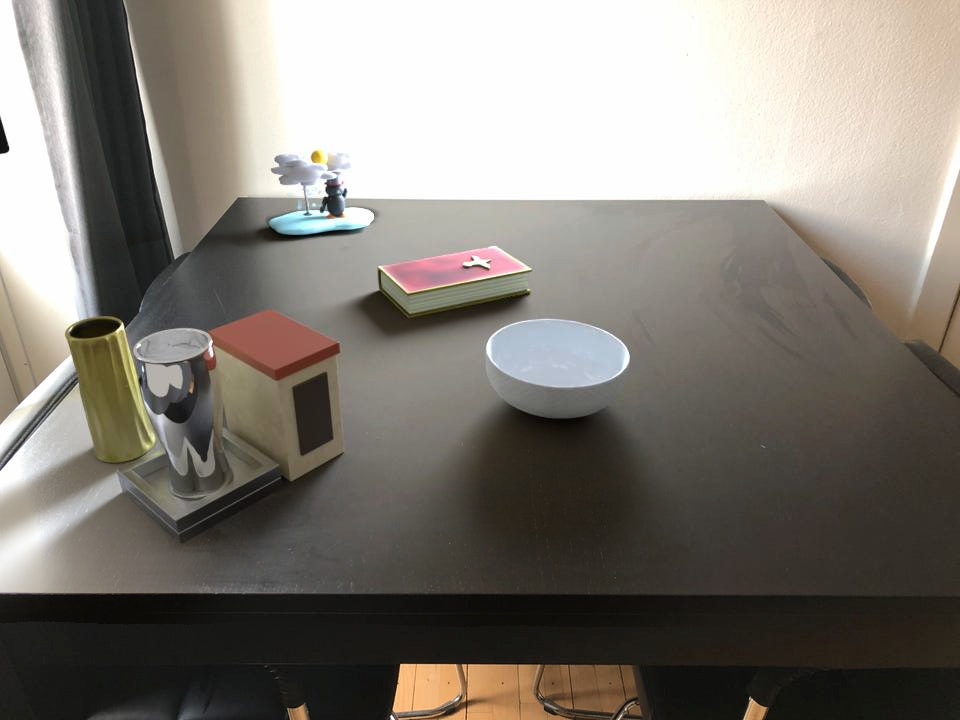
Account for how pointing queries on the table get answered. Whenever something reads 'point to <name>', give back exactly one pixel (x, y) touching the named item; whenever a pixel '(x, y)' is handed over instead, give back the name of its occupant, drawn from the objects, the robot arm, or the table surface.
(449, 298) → the hardcover book
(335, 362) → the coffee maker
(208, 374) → the beer glass
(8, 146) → the robot arm
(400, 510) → the table surface
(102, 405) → the vase
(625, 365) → the cereal bowl
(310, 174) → the penguin figurine
